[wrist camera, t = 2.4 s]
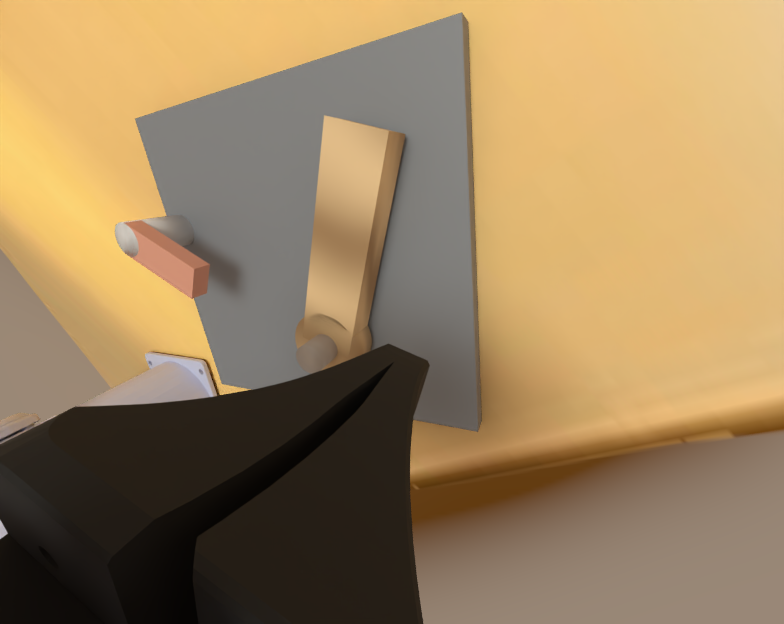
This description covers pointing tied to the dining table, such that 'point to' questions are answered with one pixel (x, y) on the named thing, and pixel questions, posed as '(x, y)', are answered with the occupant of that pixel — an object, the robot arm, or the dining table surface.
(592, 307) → the dining table surface
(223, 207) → the board
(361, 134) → the oak link
